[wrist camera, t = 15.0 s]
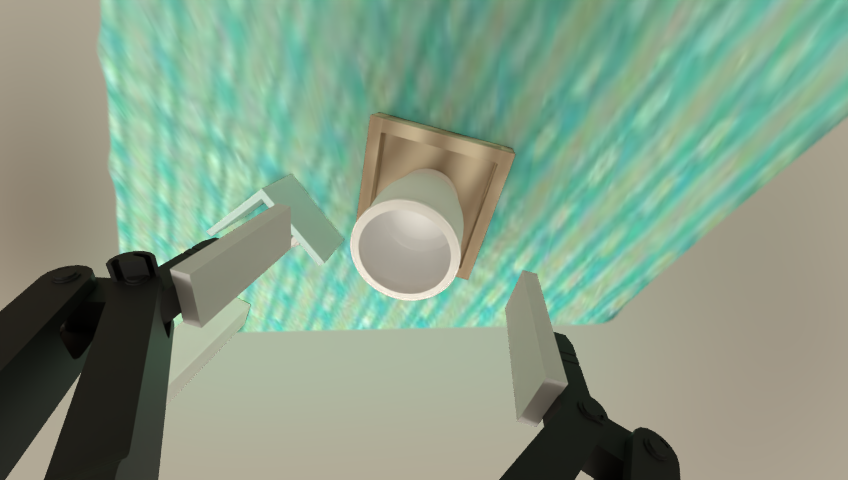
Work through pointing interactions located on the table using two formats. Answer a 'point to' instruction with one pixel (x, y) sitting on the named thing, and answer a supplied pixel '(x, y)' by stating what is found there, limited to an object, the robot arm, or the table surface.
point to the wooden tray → (443, 151)
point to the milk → (202, 344)
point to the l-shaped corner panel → (292, 218)
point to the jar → (410, 237)
